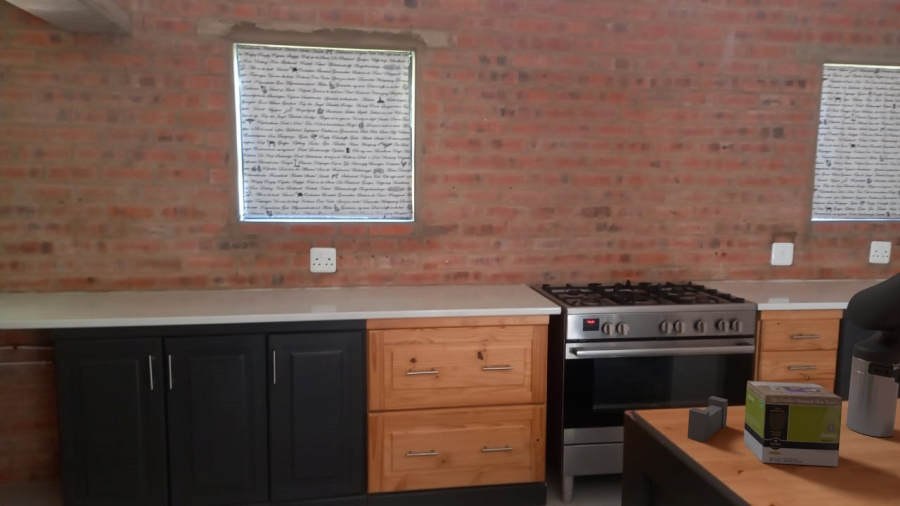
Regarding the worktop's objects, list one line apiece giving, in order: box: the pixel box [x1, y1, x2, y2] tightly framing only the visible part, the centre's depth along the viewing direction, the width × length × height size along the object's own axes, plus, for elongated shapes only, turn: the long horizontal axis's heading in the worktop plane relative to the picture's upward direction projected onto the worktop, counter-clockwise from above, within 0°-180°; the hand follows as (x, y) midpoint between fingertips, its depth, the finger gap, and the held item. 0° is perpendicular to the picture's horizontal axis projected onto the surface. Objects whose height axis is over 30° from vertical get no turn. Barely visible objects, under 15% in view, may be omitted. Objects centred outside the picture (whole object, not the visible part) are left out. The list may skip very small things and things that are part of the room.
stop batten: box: [687, 395, 729, 443], centre depth 136 cm, size 14×4×6 cm, turn 136°
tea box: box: [743, 380, 843, 468], centre depth 124 cm, size 15×10×15 cm
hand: (869, 367), depth 114 cm, fingers closed
